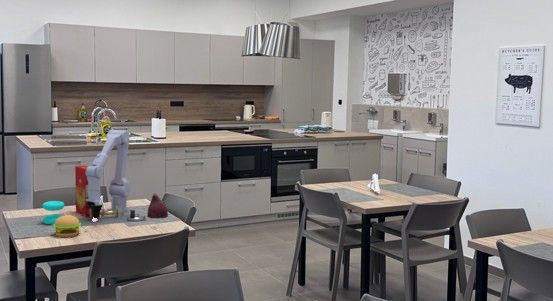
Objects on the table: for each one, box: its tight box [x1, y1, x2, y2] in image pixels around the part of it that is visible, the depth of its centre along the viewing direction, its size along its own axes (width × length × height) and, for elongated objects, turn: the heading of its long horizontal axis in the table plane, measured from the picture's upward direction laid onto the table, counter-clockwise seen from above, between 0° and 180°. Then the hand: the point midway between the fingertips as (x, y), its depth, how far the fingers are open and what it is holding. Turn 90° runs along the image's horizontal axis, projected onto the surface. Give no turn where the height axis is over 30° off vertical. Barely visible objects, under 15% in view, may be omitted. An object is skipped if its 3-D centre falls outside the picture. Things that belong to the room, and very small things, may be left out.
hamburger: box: [52, 214, 81, 238], centre depth 265 cm, size 12×12×9 cm
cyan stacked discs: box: [41, 200, 65, 226], centre depth 286 cm, size 10×10×10 cm
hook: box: [89, 207, 124, 220], centre depth 295 cm, size 4×16×6 cm, turn 119°
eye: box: [114, 205, 123, 219], centre depth 298 cm, size 6×3×6 cm, turn 29°
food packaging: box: [74, 165, 90, 218], centre depth 302 cm, size 15×5×25 cm, turn 37°
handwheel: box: [127, 209, 146, 222], centre depth 294 cm, size 9×9×5 cm
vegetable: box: [146, 192, 169, 219], centre depth 301 cm, size 10×10×15 cm
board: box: [77, 213, 148, 227], centre depth 292 cm, size 17×32×1 cm, turn 119°
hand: (94, 217), depth 292 cm, fingers open, 7 cm apart
